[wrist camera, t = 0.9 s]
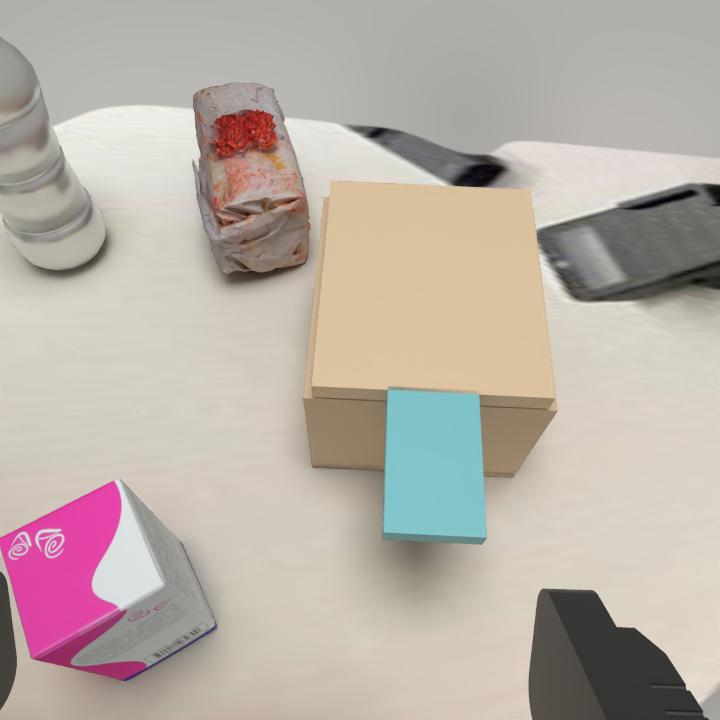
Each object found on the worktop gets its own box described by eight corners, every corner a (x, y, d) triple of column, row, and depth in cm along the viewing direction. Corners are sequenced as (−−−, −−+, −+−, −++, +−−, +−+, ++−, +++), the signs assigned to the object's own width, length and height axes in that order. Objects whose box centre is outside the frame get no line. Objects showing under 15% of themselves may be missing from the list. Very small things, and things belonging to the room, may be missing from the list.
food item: (323, 273, 49) (318, 178, 40) (221, 295, 48) (193, 202, 39) (284, 153, 55) (273, 50, 47) (194, 170, 54) (165, 67, 46)
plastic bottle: (24, 227, 51) (-144, -31, 33) (110, 210, 52) (-9, -49, 34) (27, 290, 48) (-156, 41, 30) (118, 270, 49) (-8, 19, 31)
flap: (299, 535, 29) (297, 528, 28) (331, 194, 39) (331, 180, 38) (564, 548, 28) (572, 542, 27) (525, 204, 39) (530, 190, 38)
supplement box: (180, 537, 39) (122, 472, 29) (219, 628, 36) (171, 591, 26) (87, 587, 37) (-8, 536, 27) (122, 685, 34) (30, 669, 25)
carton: (312, 466, 41) (303, 398, 32) (328, 292, 48) (323, 196, 39) (512, 477, 41) (557, 410, 32) (499, 300, 48) (532, 206, 39)
